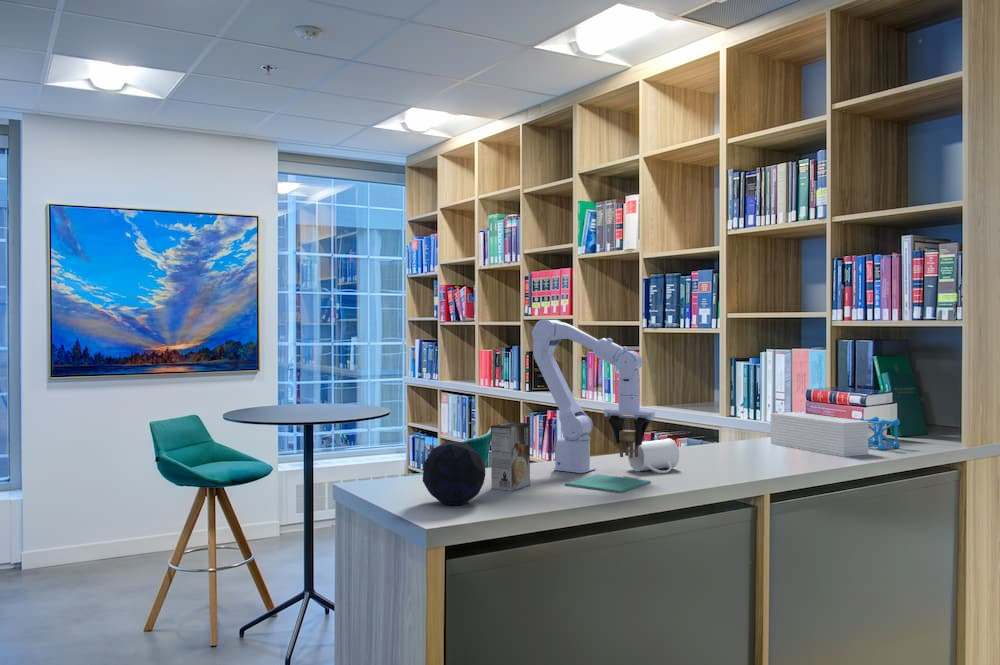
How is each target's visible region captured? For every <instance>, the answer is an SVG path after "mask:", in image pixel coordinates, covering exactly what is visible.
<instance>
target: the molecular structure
mask: <svg viewBox="0 0 1000 665" xmlns="http://www.w3.org/2000/svg"><path fill="white" fill-rule="evenodd" d="M856 420H861V421H868V429H870V431H872V432H874V434H872V435H871V436H868V447H874V448H877V449H878V450H880V451H884V450H885V449H886V448H893V449H899V448H900V447H901V445H900V444H901V443H900V442H899V441H898V426H899V425H900V424H901V421H900V419H899V418H894V419H892V420H890V419H881V418H879V417H878V416H875V415H874V416H873V417H872V418H870V419H869V418H868V419H867V418H866V419H864V418H863V417H859V418H857V419H856ZM869 424H872V425H874V426H870V425H869ZM886 425H887V426H886ZM892 426H894V441H893V440H891V439H890V438H888V437H887V436H885V435H884V434H883V433H884V432H885V431H886V430H888V429H889V428H891V427H892ZM883 439H885V441H888V442H884V440H883Z"/></svg>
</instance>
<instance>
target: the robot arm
mask: <svg viewBox="0 0 1000 665" xmlns="http://www.w3.org/2000/svg"><path fill="white" fill-rule="evenodd" d="M530 335H531V336H532V341H533V342H532V355H533V358H534V361H535V362H536V364H537V366H538V368H539V371H540V373H541V376H542V378H543V379H544V381H545V383H546V385H547V388H548V389H549V392H550V393H551V396H552V398H553V400H554V402H555V404H556V406H557V408H558V410H559V411H558V412H559V413H558V419H559V422H560V430H561V432H562V435H563V437H560V438H558V440H557V441H556V444H555V448H554V449H555V450H554V452H555V455H554V459H555V462H554V463H555V467H554V468H553V470H554V471H562V472H569V473H578V474H584V473H587V472H591V471H594V470H595V471H596V470H597V467H594V466H593V467H592V466H591V437H590V433H591V432H592V431H593V426H594V425H593V420H592V418H591V417H590V416H588V414H587V413H585V410H584V409H583V408H582V407H581V406H580V405H579V404H578V403H577V402H576V399H575V397H574V395H573V393H572V391H571V389H570V387H569V385H568V383H567V381H566V379H565V376H564V375H563V373H562V371H561V369H560V367H559V364H558V362H557V360H556V358H555V356H554V353H555V350H556V347H558V345H559V343H560V342H561V341H562V340H565V339H566V340H567V339H568V340H571V341H573V342H575V343H577V344H578V345H581V346H582V347H585V348H588V349H590V350H592V352H593V355H594V356H595V357H596V358H598V359H600V360H602V361H604V362H606V363H608V364H610V365H612V366H614V367H616V368H617V370H618V409H617V408H615V409H614V408H613V409H611V408H607V409H606V408H605V409H604V412H603V413H604V414H603V415H604V417H609V418H608V419H607V420H608V422H609V425H610V426H611V429H612V432H613V435H614V438H615V443H616V444H617V445H620V440H619V431H621V430H624V422H625V418H627V419H628V418H629V419H633V425H634V430H635V433H636V446H639V445H642V442H643V440H644V436H645V432H646V431H647V428H648V426H649V424H650V423H651V421H653V420H655V418H656V417H655V415H656V414H655V412H653V411H646V410H640V409H641V408H640V404H641V403H640V398H641V397H640V396H641V394H640V388H641V385H640V382H641V381H640V368H641V367H642V364H643V359H642V357H641V355H640V353H638V352H637V351H636V350H628V347H627V346H625V345H624V346H622V345H619V344H617V343H615V342H613V341H614V339H612V338H611V337H607V338H606V337H603V338H600V339H597V338H596V337H593V336H591V335H590V334H588V333H586V332H584V331H583V330H581V329H579V328H577V327H575V326H573V325H571V324H569V323H568V322H564V321H563V322H562V321H561V320H559V319H540V320H538V321H537V322H536V323H535V324H534V326H533V328H532V331H531V334H530Z"/></svg>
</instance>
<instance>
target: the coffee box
mask: <svg viewBox="0 0 1000 665" xmlns="http://www.w3.org/2000/svg"><path fill="white" fill-rule="evenodd" d="M530 449H531V448H530V422H519V421H518V422H515V421H507V422H503V423H498V424H492V425H490V456H491V457H490V460H491V461H490V465H491V466H490V468H491V469H490V470H491V472H490V474H491V489H493V490H501V491H508V492H509V491H510V492H513V491H516V490H518V489H521V488H524V487H527V486H529V485H531V472H530V471H531V469H530V468H531V461H530V460H531V458H530V456H531V454H530V453H531V452H530Z"/></svg>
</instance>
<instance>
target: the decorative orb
mask: <svg viewBox="0 0 1000 665" xmlns="http://www.w3.org/2000/svg"><path fill="white" fill-rule="evenodd" d="M422 470H423V471H422V482H423V485H424V487H425V488H426V490H427V491H428V493H429V494H430V495H431V496H432V497H433V498H435V499H436V500H437V501H438V502H440V503H441V504H442V505H451V504H452V506H464V505H465V504H466V503H467V502H469V501H471V500H473V498H475V497H476V496H477V495H479V493H480V491H481V490H482V487H483V486H484V483H485V479H486V464H485V462H484V459H483V457H482V455H481V454H480V453H479V452H478V451H476V449H474V448H473V447H472V446H471V445H469V444H468V443H467V442H466V441H445V442H443V443H441V444H439V445H437V446H435V447H434V448H433V449H432V450H431V452H430V453H429V454H428V456H427V457H426V459H425V461H424V462H423V468H422Z"/></svg>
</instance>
